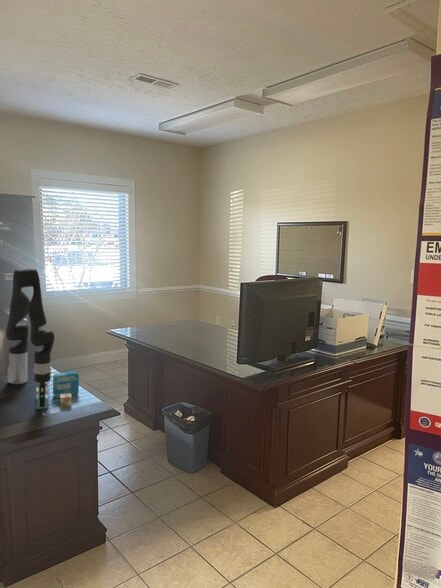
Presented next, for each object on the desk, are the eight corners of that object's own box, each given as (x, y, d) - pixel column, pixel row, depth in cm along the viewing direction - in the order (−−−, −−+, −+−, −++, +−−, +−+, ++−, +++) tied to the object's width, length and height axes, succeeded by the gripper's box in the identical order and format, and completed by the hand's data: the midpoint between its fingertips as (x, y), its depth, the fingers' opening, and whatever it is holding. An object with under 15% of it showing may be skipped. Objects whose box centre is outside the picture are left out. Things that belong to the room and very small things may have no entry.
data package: (55, 398, 219) (55, 376, 218) (52, 396, 223) (52, 373, 221) (78, 394, 227) (78, 373, 225) (75, 392, 230) (76, 370, 229)
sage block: (36, 400, 216) (36, 391, 215) (36, 396, 221) (36, 387, 220) (47, 399, 218) (47, 390, 217) (47, 396, 223) (47, 386, 222)
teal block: (36, 409, 206) (36, 399, 205) (36, 405, 211) (36, 395, 210) (47, 408, 208) (47, 398, 207) (47, 404, 213) (47, 394, 212)
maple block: (60, 407, 210) (60, 397, 209) (60, 403, 214) (60, 394, 213) (71, 406, 211) (71, 396, 211) (70, 402, 216) (70, 393, 215)
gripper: (34, 367, 212) (34, 399, 214) (33, 376, 199) (33, 410, 201) (50, 366, 215) (50, 397, 217) (50, 375, 202) (50, 408, 204)
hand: (42, 403), depth 209 cm, fingers open, 7 cm apart
